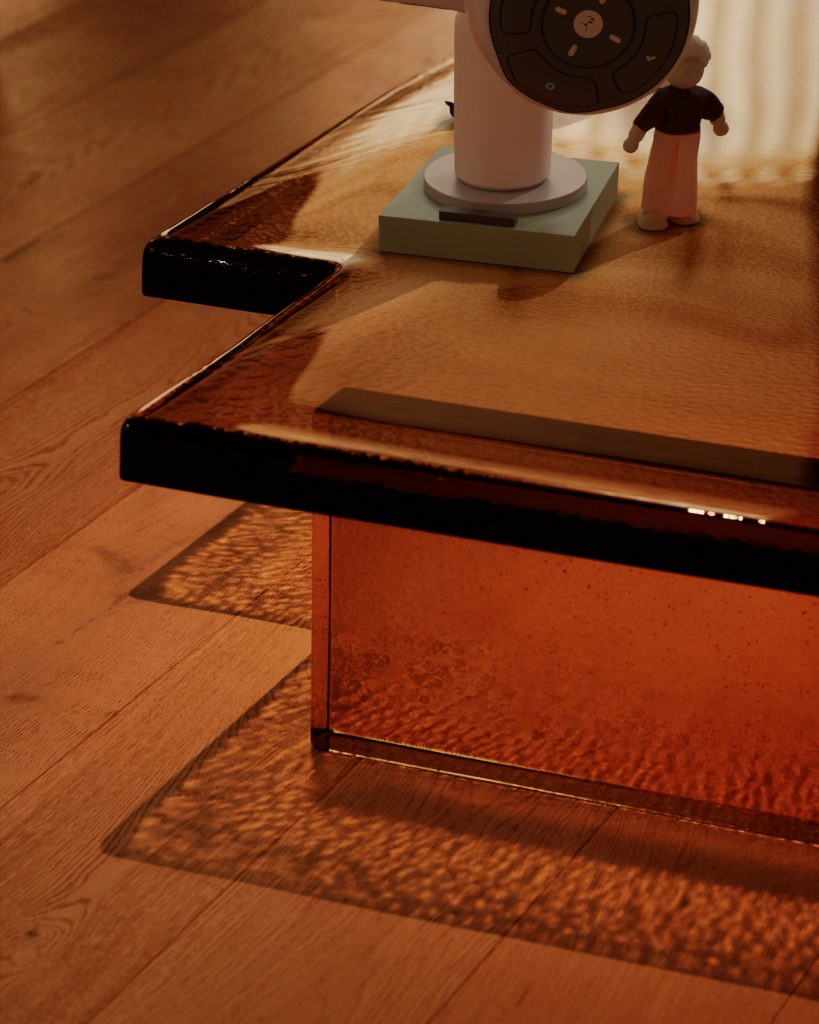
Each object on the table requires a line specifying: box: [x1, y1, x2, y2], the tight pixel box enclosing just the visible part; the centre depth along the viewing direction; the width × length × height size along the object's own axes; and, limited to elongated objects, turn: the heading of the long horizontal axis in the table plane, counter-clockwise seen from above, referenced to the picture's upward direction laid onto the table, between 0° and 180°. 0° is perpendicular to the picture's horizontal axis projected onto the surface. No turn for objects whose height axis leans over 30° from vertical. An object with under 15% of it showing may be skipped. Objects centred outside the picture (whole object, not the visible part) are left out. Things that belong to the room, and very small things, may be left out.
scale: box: [377, 145, 620, 274], centre depth 108 cm, size 13×14×3 cm
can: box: [453, 11, 554, 192], centre depth 104 cm, size 6×6×12 cm
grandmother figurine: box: [622, 34, 730, 232], centre depth 106 cm, size 8×4×13 cm, turn 123°
